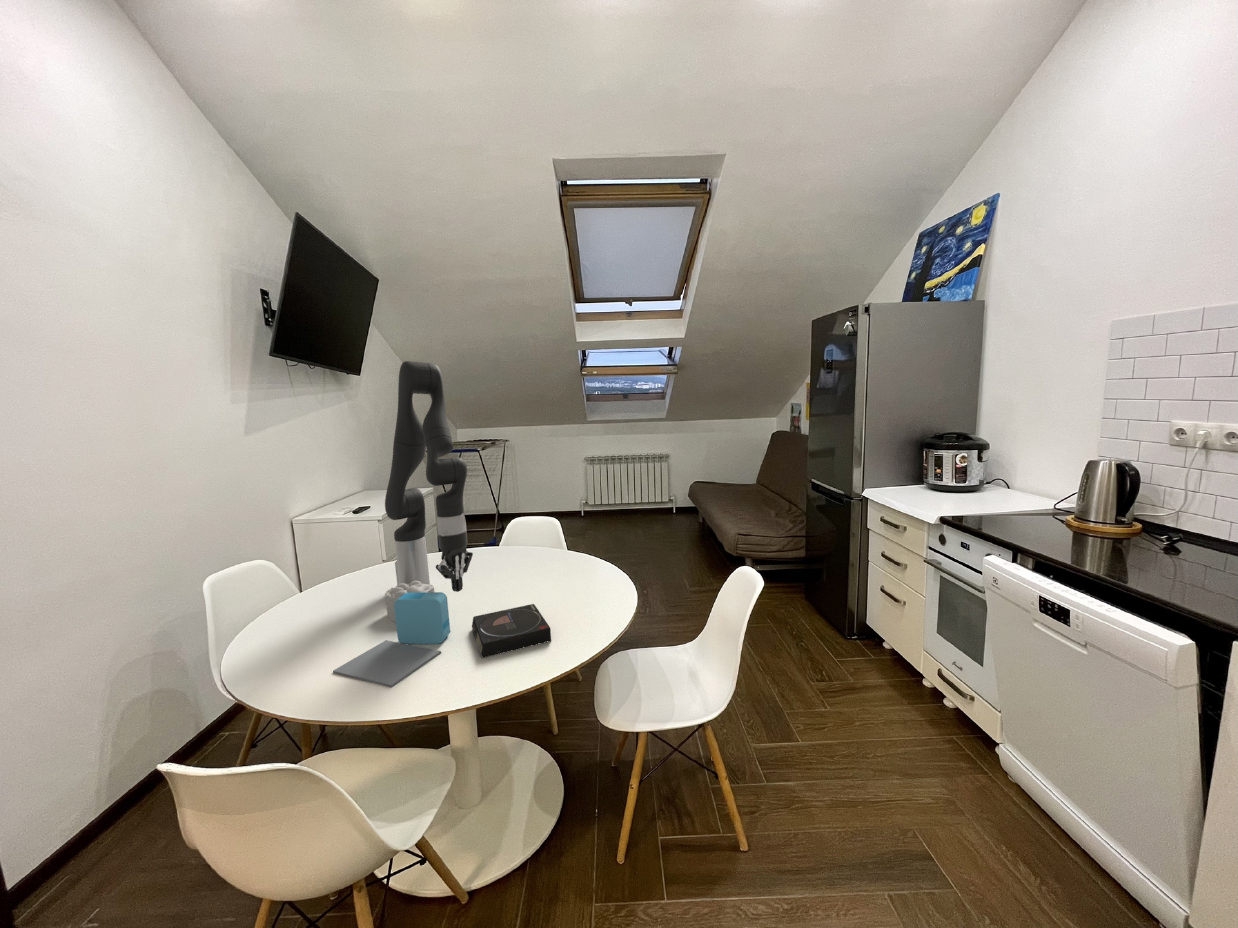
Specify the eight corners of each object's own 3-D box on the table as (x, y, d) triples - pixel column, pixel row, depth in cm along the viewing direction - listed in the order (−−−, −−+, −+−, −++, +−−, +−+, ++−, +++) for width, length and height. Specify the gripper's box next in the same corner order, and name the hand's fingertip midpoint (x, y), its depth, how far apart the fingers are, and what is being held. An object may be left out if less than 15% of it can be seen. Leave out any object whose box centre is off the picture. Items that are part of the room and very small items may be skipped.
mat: (333, 672, 113) (332, 670, 113) (386, 641, 127) (386, 640, 126) (391, 687, 106) (391, 685, 106) (441, 653, 120) (441, 651, 120)
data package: (451, 635, 129) (446, 591, 127) (443, 644, 124) (439, 598, 123) (406, 636, 129) (401, 592, 128) (397, 644, 125) (392, 599, 123)
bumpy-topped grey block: (422, 622, 137) (419, 593, 136) (378, 622, 139) (375, 592, 138) (440, 606, 147) (437, 579, 146) (399, 606, 149) (396, 578, 148)
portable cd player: (472, 631, 131) (470, 617, 131) (534, 617, 138) (533, 603, 138) (481, 660, 117) (480, 644, 116) (551, 642, 123) (550, 627, 123)
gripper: (457, 523, 143) (462, 580, 145) (423, 536, 131) (430, 598, 133) (478, 525, 140) (483, 583, 143) (446, 538, 128) (452, 601, 130)
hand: (457, 590), depth 138 cm, fingers closed
